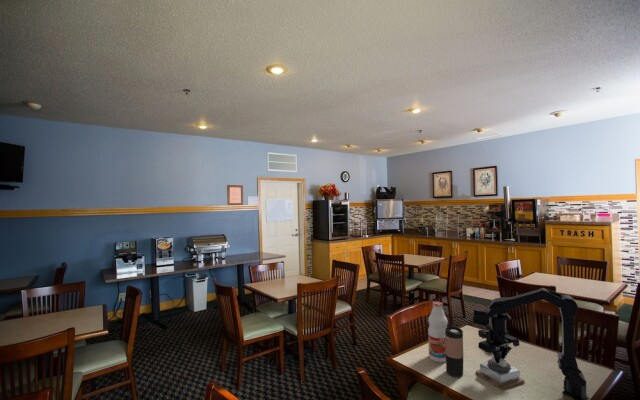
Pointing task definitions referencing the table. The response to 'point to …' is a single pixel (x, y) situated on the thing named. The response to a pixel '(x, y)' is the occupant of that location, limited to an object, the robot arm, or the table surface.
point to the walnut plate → (503, 386)
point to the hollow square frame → (500, 374)
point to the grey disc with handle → (499, 365)
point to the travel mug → (454, 351)
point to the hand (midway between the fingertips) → (499, 362)
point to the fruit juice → (437, 333)
